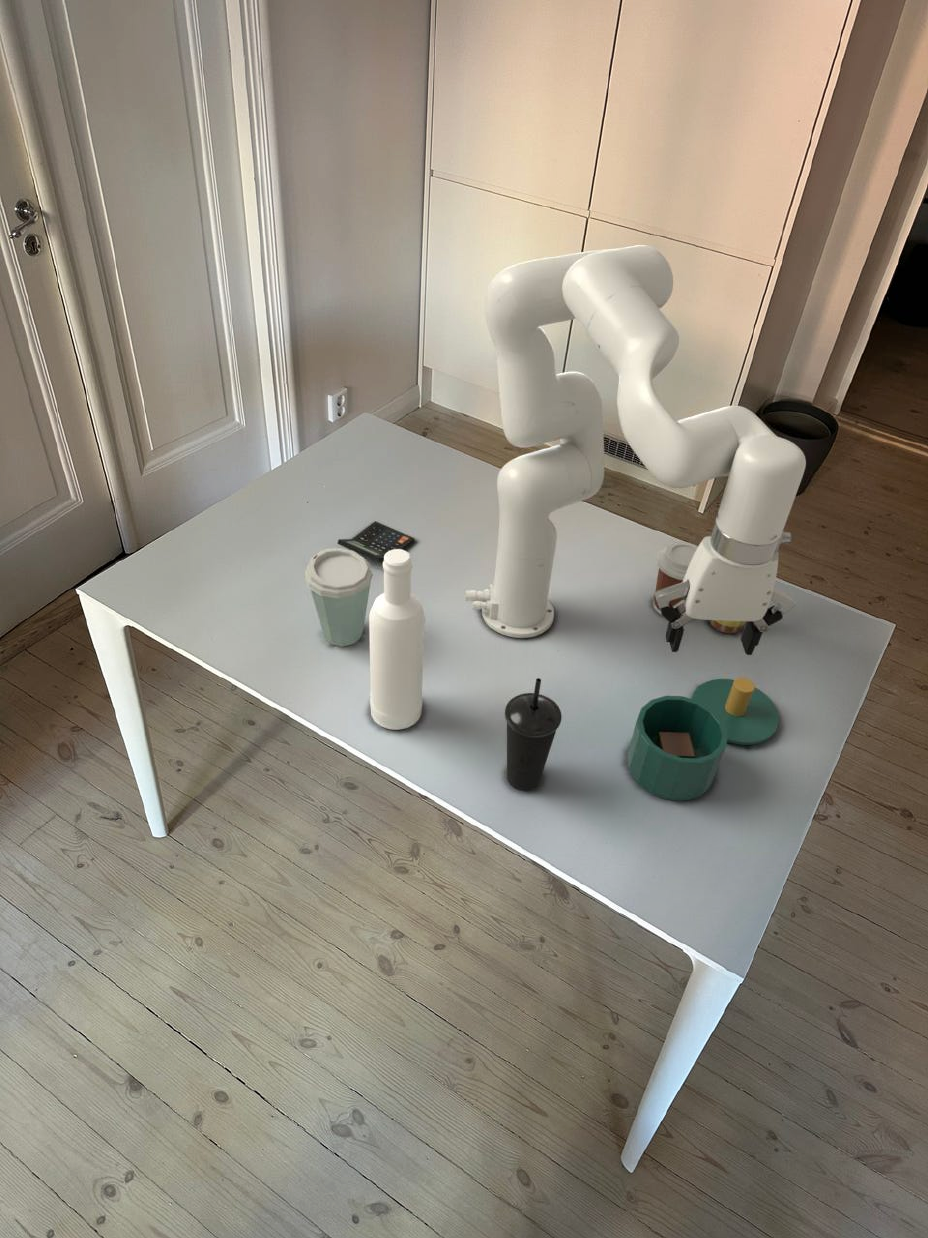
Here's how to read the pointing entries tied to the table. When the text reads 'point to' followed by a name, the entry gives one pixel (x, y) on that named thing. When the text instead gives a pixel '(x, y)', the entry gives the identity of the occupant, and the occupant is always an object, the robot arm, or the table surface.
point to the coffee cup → (673, 567)
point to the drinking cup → (529, 736)
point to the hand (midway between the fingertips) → (709, 646)
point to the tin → (670, 771)
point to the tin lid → (740, 709)
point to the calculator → (377, 541)
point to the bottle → (396, 647)
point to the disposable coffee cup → (340, 593)
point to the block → (676, 744)
